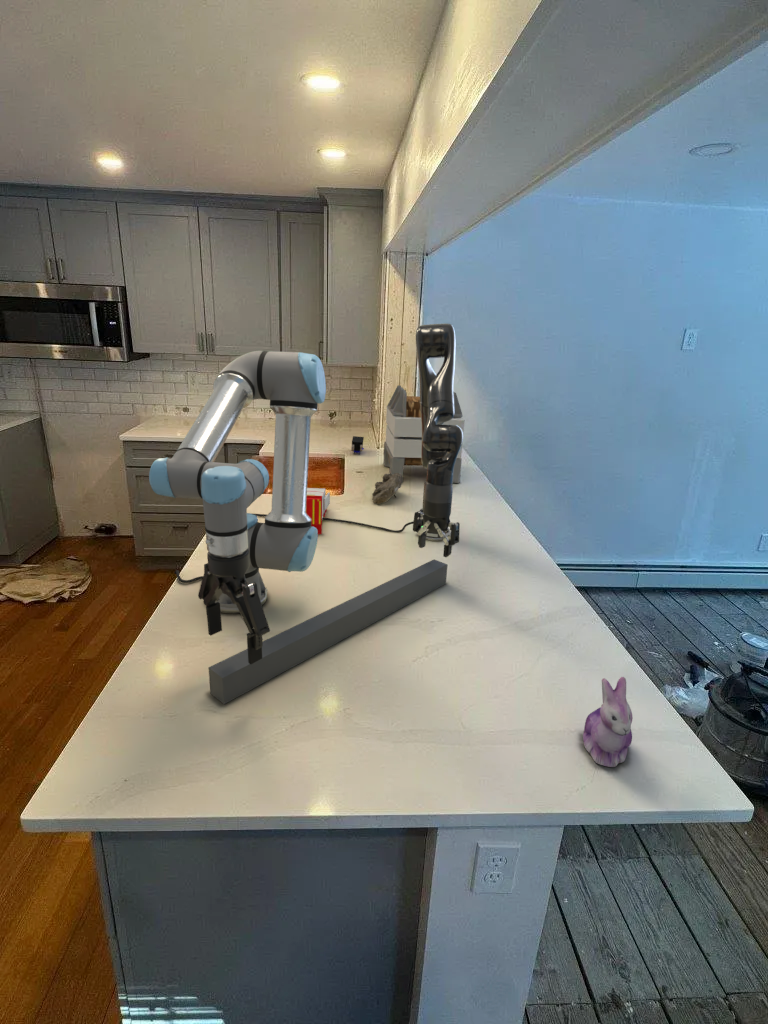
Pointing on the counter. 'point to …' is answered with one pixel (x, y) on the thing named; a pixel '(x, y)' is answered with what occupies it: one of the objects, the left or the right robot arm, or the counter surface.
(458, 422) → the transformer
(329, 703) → the counter surface
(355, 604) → the post
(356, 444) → the figurine character
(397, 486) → the fossil
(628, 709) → the figurine
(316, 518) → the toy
